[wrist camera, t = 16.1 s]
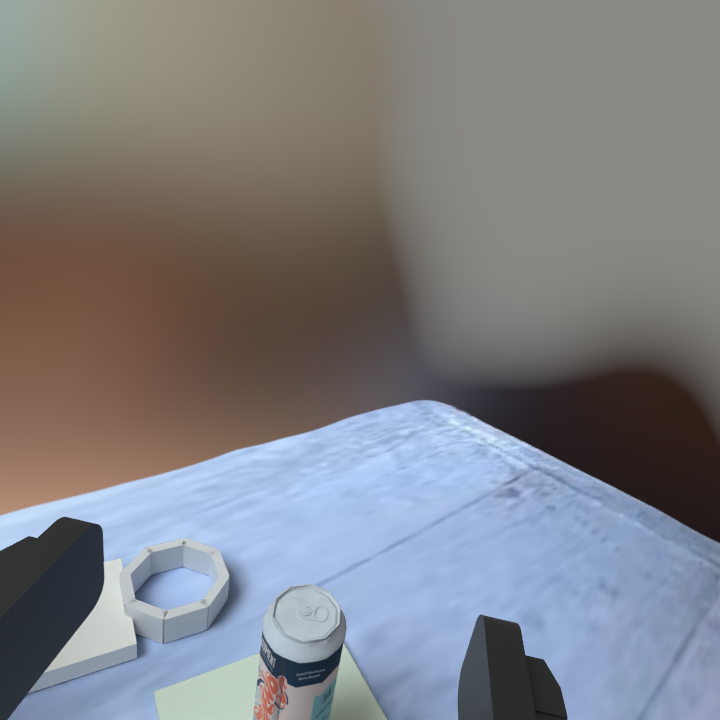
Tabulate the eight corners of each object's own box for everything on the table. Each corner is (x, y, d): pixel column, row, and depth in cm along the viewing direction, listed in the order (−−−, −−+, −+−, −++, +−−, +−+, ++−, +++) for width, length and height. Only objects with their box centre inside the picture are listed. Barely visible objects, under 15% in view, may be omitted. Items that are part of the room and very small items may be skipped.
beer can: (257, 707, 36) (271, 573, 31) (325, 715, 36) (350, 583, 31) (241, 786, 31) (256, 643, 27) (319, 794, 31) (347, 654, 27)
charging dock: (209, 549, 49) (210, 528, 48) (238, 624, 42) (240, 601, 41) (-87, 622, 38) (-93, 597, 37) (-115, 740, 31) (-123, 712, 30)
